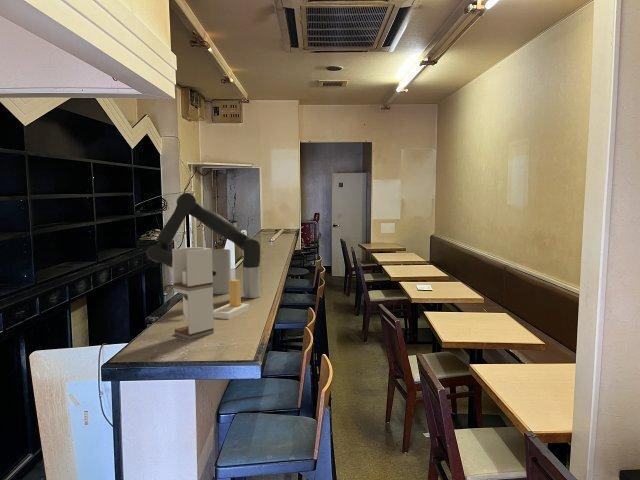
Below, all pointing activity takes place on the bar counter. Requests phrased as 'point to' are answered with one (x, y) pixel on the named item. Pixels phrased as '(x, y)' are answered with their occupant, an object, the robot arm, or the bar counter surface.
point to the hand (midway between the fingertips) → (211, 274)
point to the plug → (235, 293)
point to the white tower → (194, 289)
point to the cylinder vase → (221, 270)
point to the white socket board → (229, 311)
